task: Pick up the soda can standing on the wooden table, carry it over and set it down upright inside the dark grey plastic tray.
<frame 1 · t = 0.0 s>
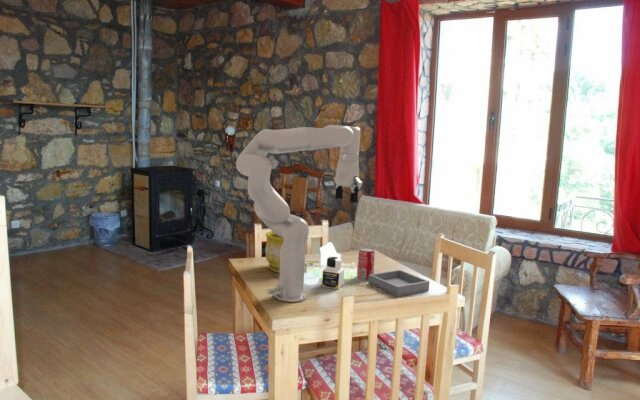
hand: (346, 200, 206), 37 cm above the table, tool pointing down, fingers open, 9 cm apart
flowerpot: (284, 269, 234), on the table
medicine bottle: (332, 286, 215), on the table
tray: (398, 286, 218), on the table
soda can: (365, 278, 229), on the table
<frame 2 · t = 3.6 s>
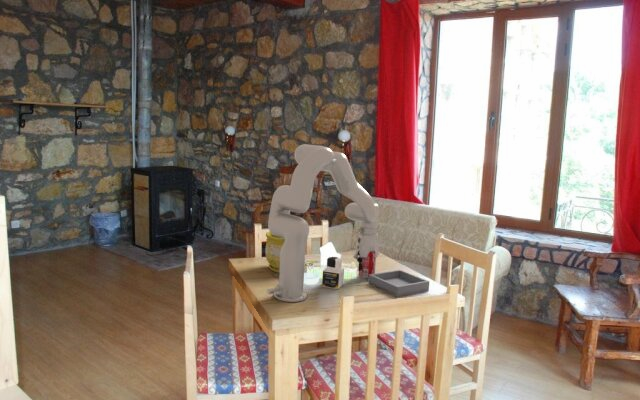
hand: (365, 270, 228), 3 cm above the table, tool pointing down, fingers open, 4 cm apart
soda can: (366, 278, 229), on the table
everything else where it was.
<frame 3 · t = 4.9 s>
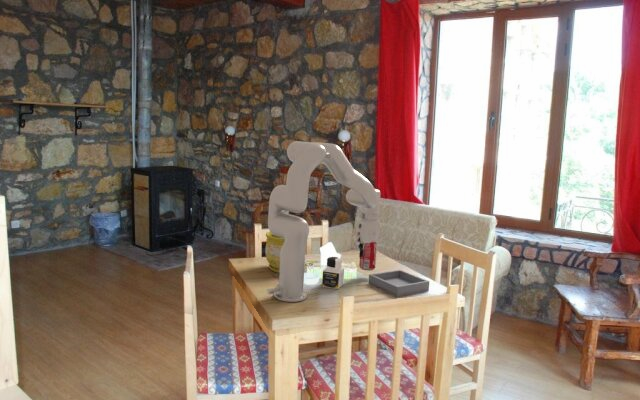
hand: (365, 257, 226), 9 cm above the table, tool pointing down, fingers closed on soda can, 3 cm apart
soda can: (366, 269, 228), point 4 cm above the table, touching gripper
everything else where it was.
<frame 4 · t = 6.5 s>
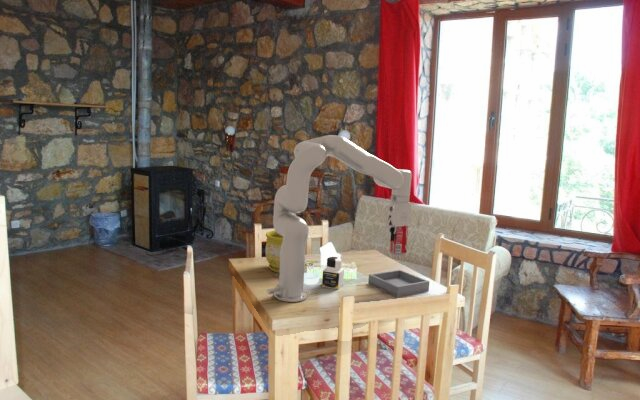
hand: (396, 241, 217), 19 cm above the table, tool pointing down, fingers closed on soda can, 3 cm apart
soda can: (397, 254, 218), point 14 cm above the table, touching gripper
everything else where it was.
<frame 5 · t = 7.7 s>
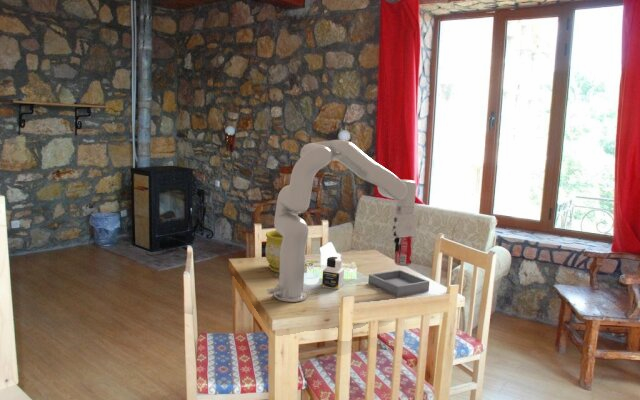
hand: (401, 252, 216), 15 cm above the table, tool pointing down, fingers closed on soda can, 3 cm apart
soda can: (402, 265, 217), point 10 cm above the table, touching gripper
everything else where it was.
when the fingers open (6 cm above the table, at t = 9.2 s): soda can stays where it is, resting on tray.
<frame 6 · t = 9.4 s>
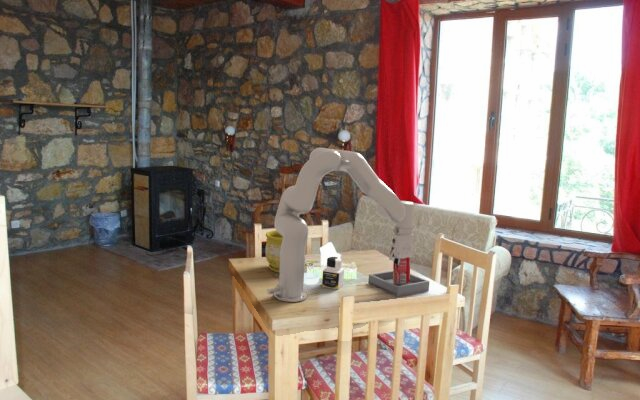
hand: (399, 272, 217), 6 cm above the table, tool pointing down, fingers closed
soda can: (401, 284, 218), point 1 cm above the table, touching gripper, tray
everything else where it was.
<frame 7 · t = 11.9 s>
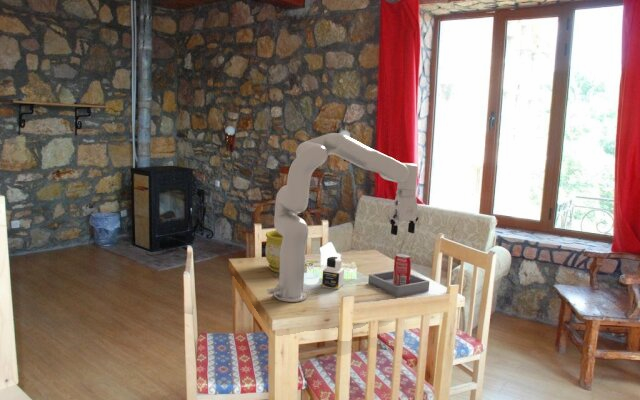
hand: (402, 233, 215), 23 cm above the table, tool pointing down, fingers open, 9 cm apart
soda can: (400, 285, 218), point 1 cm above the table, touching tray
everything else where it was.
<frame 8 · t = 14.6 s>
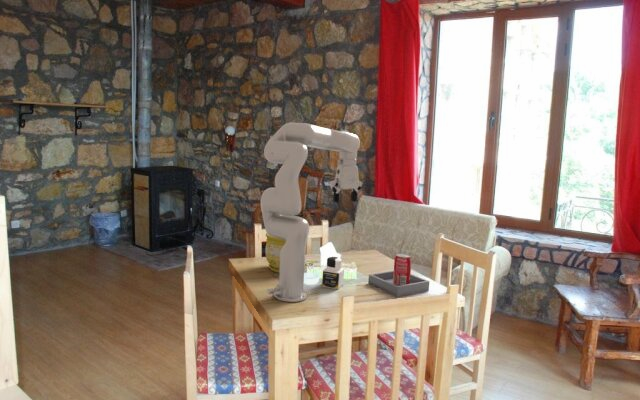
hand: (345, 201, 225), 33 cm above the table, tool pointing down, fingers open, 9 cm apart
nothing on the table moved.
at the end: soda can inside the target area on the tray (1.2 cm from its centre), point 0.8 cm above the tray's base; soda can tilted 0°; the gripper is holding nothing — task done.
